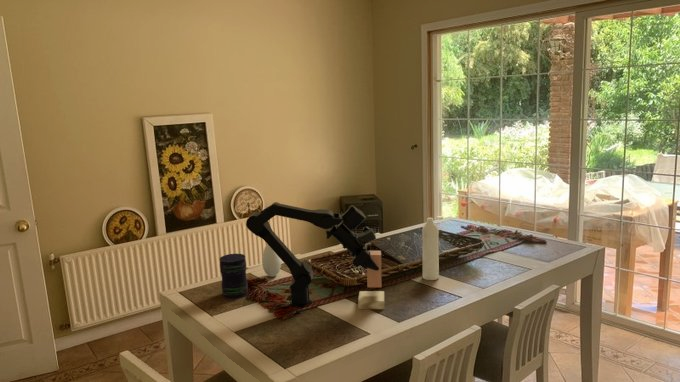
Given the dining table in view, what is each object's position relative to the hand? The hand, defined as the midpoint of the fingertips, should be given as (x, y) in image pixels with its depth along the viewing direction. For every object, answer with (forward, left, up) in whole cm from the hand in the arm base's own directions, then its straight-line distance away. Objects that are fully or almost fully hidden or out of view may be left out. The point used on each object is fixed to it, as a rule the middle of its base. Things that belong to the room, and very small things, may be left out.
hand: (377, 267), depth 180 cm
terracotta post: (-1, +1, -7) cm, 7 cm away
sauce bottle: (0, +53, -13) cm, 55 cm away
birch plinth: (-3, +1, -13) cm, 14 cm away
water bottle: (+32, -6, -14) cm, 36 cm away
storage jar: (-22, +52, -14) cm, 58 cm away
